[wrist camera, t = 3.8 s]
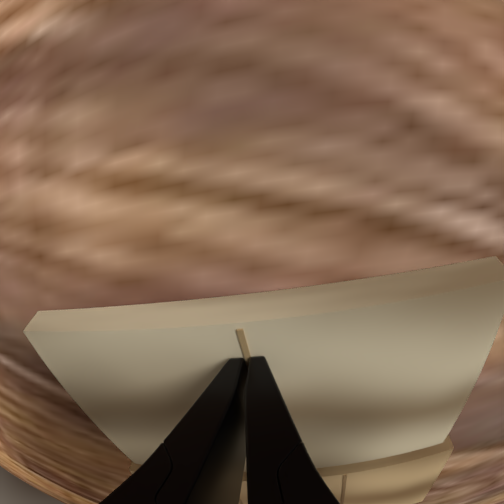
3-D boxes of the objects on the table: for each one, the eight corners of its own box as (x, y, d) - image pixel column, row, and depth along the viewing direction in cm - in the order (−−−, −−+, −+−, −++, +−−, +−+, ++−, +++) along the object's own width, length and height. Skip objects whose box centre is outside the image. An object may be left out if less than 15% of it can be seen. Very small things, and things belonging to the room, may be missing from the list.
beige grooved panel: (437, 424, 13) (443, 443, 12) (139, 446, 15) (134, 464, 14) (495, 256, 8) (515, 278, 7) (38, 310, 10) (22, 332, 9)
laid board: (418, 488, 16) (422, 502, 15) (178, 505, 19) (175, 518, 17) (447, 432, 13) (454, 449, 12) (134, 455, 16) (128, 471, 14)
